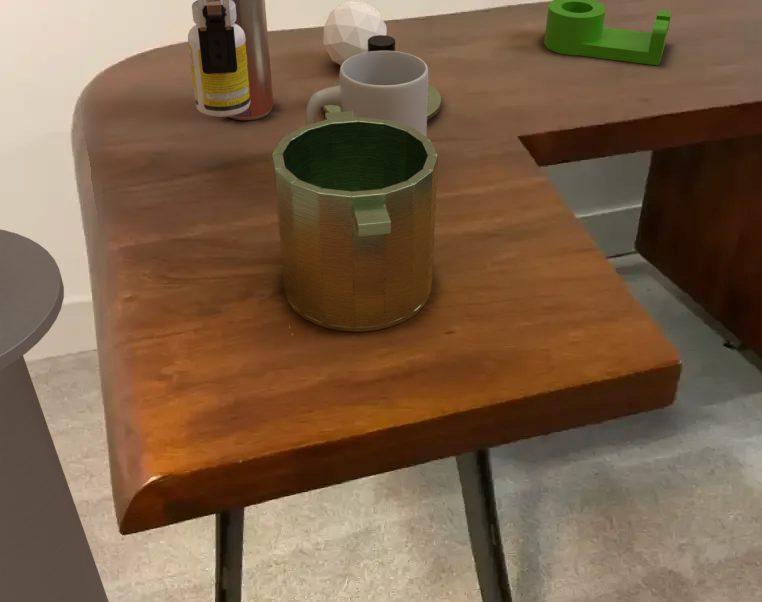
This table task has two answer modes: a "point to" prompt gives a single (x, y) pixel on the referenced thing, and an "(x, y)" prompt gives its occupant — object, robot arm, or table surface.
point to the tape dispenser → (601, 33)
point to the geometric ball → (351, 30)
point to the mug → (379, 89)
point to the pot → (356, 221)
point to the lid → (389, 45)
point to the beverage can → (255, 57)
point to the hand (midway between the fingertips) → (218, 57)
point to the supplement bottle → (219, 74)
